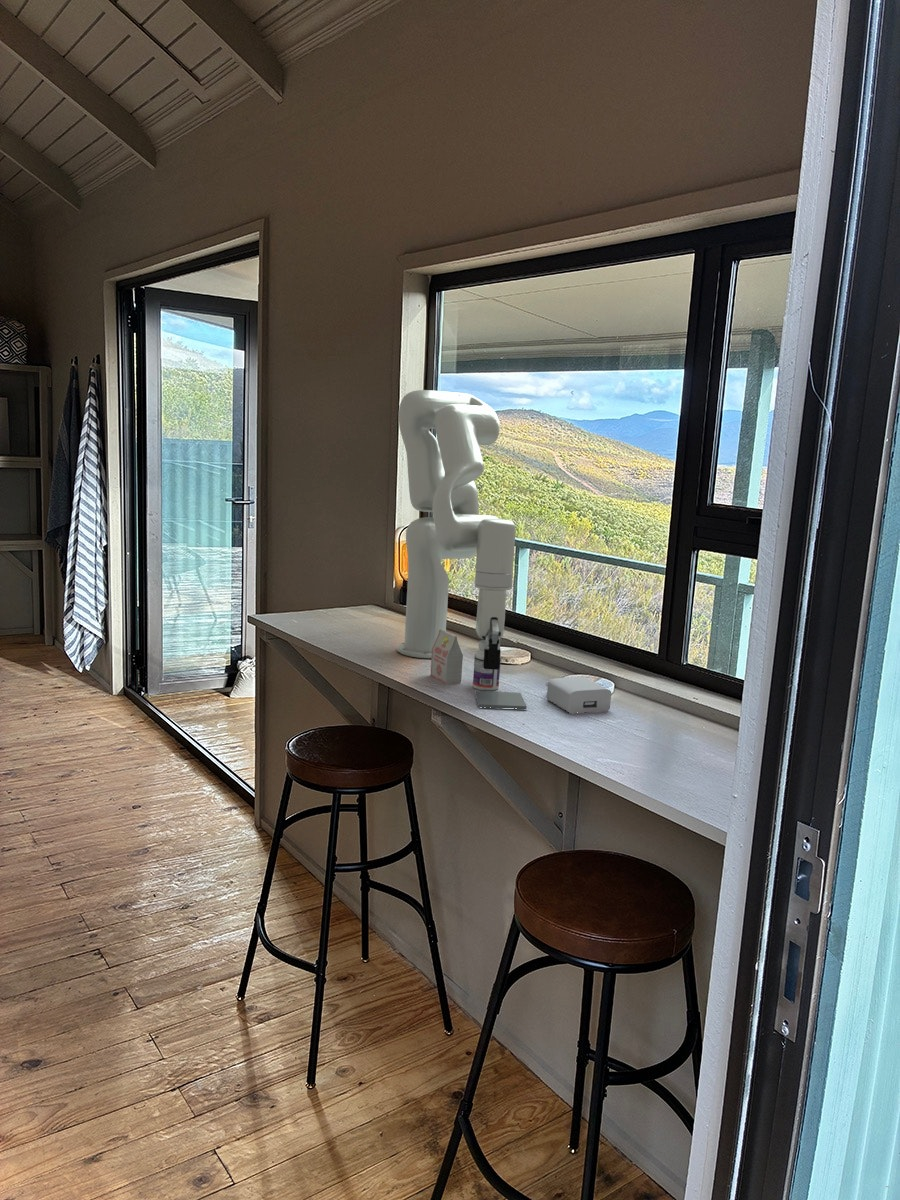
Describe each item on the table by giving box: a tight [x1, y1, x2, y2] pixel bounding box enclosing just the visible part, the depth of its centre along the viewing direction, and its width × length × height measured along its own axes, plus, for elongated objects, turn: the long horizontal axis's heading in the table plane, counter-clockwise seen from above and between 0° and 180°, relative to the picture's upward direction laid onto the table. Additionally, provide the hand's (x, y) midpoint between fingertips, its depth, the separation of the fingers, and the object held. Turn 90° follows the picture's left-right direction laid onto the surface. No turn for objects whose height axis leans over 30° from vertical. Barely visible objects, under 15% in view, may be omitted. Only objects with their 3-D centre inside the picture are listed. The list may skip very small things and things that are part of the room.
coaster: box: [475, 690, 528, 710], centre depth 178 cm, size 9×9×1 cm
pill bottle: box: [472, 639, 502, 691], centre depth 187 cm, size 5×5×10 cm
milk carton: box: [430, 630, 464, 685], centre depth 191 cm, size 4×7×10 cm, turn 29°
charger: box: [545, 676, 612, 714], centre depth 181 cm, size 5×9×15 cm
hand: (489, 663), depth 186 cm, fingers open, 9 cm apart
